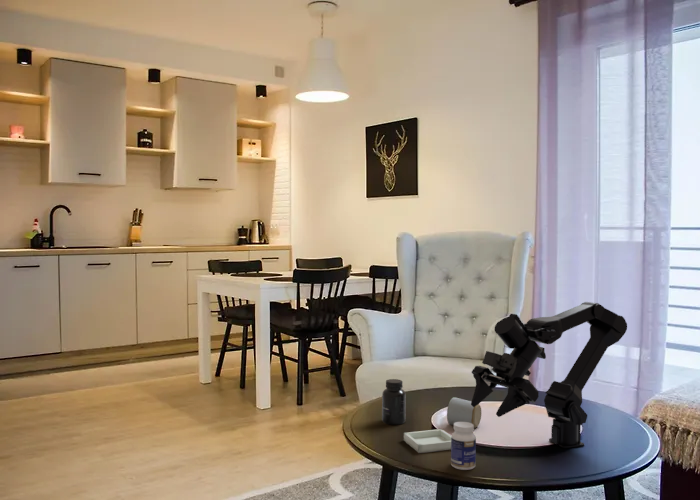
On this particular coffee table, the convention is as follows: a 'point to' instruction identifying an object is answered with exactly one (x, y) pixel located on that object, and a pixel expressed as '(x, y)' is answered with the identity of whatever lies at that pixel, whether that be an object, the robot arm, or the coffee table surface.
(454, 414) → the ceramic mug
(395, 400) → the supplement bottle
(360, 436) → the coffee table surface
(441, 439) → the tray
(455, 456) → the pill bottle
